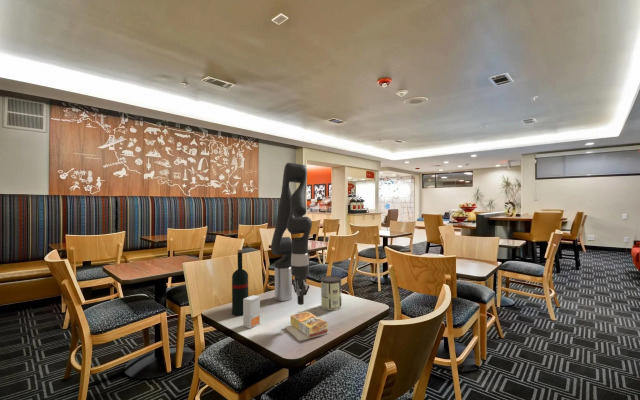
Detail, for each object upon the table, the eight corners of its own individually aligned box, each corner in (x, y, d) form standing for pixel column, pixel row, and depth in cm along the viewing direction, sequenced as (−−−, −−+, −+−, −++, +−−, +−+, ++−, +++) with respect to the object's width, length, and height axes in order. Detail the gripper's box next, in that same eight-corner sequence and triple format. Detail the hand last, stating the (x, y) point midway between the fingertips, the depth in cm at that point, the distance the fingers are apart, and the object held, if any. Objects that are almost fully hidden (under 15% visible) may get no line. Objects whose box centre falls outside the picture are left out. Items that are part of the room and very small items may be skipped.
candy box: (307, 310, 134) (328, 321, 121) (307, 320, 134) (328, 332, 121) (289, 315, 129) (309, 327, 116) (290, 325, 129) (309, 338, 116)
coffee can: (330, 301, 159) (330, 274, 159) (345, 306, 152) (345, 278, 152) (316, 307, 151) (316, 278, 151) (332, 312, 144) (332, 282, 144)
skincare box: (250, 329, 126) (250, 300, 126) (243, 326, 129) (242, 298, 129) (260, 323, 132) (260, 296, 132) (253, 321, 134) (253, 294, 134)
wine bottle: (251, 308, 151) (251, 247, 151) (246, 315, 141) (245, 251, 141) (236, 308, 151) (235, 248, 151) (229, 316, 141) (228, 251, 141)
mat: (285, 327, 127) (285, 326, 127) (312, 321, 134) (312, 320, 134) (299, 341, 115) (299, 339, 115) (328, 333, 121) (328, 332, 121)
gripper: (315, 265, 125) (315, 307, 125) (301, 260, 137) (301, 298, 137) (298, 267, 121) (299, 310, 121) (285, 261, 133) (286, 301, 133)
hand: (300, 304), depth 129 cm, fingers closed
